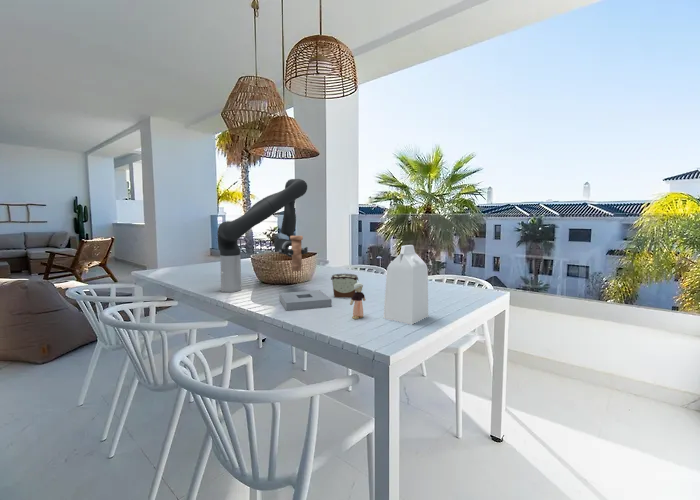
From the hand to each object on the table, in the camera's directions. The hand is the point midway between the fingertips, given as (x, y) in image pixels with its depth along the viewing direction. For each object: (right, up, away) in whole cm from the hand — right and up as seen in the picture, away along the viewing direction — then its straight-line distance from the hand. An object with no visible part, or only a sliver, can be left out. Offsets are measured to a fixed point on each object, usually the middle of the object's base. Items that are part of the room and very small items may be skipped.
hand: (297, 252), depth 157 cm
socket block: (+4, -21, -11) cm, 24 cm away
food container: (+21, -20, +2) cm, 29 cm away
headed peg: (-1, -8, +3) cm, 9 cm away
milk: (+43, -23, -31) cm, 58 cm away
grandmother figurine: (+26, -23, -30) cm, 46 cm away
